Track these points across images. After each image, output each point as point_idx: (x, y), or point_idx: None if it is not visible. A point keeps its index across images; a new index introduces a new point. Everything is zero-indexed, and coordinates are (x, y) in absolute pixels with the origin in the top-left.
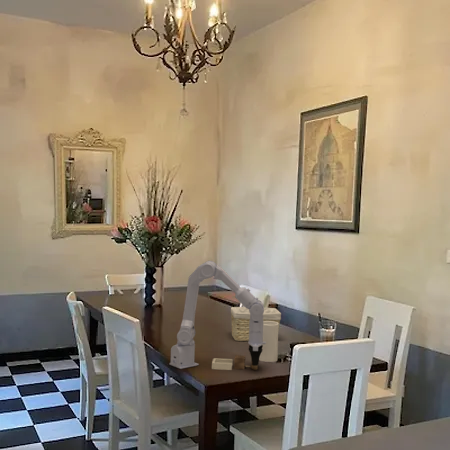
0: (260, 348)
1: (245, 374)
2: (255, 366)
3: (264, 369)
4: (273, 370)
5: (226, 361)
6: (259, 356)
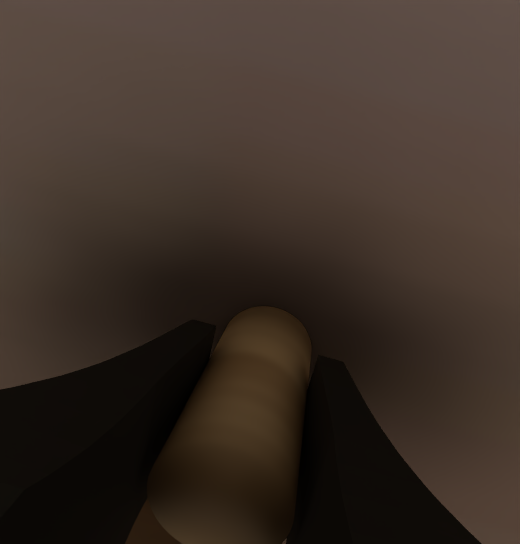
0: (61, 506)
1: (503, 514)
2: (309, 371)
3: (310, 213)
4: (385, 67)
5: None
6: (427, 488)
